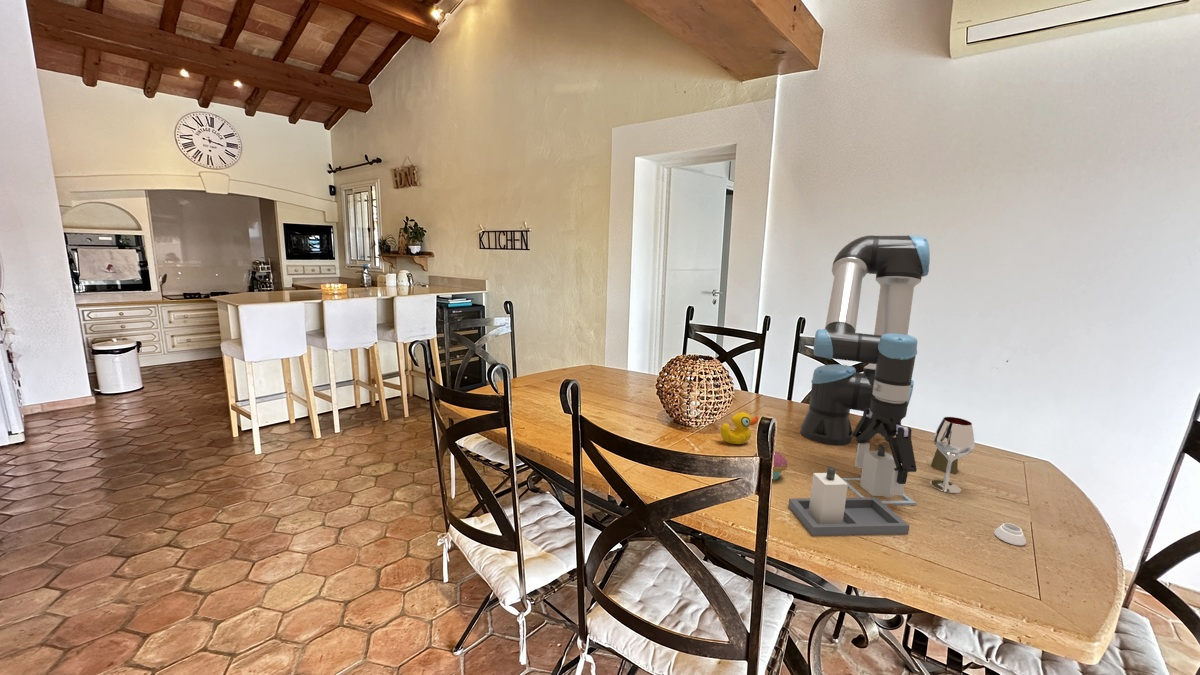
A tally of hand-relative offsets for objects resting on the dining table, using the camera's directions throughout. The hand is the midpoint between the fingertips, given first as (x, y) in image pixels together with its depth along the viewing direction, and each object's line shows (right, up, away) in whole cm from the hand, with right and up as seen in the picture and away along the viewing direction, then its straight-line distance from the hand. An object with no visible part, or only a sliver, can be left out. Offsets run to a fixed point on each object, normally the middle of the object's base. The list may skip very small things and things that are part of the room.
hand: (877, 479), depth 114 cm
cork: (+27, -1, +14) cm, 31 cm away
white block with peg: (0, -3, +1) cm, 3 cm away
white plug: (-19, -5, -12) cm, 23 cm away
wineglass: (+20, -3, +4) cm, 20 cm away
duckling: (-27, +3, +28) cm, 39 cm away
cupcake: (-24, -2, +7) cm, 26 cm away
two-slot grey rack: (-14, -6, -12) cm, 19 cm away
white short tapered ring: (+18, -8, -17) cm, 26 cm away
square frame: (0, -3, +1) cm, 3 cm away
